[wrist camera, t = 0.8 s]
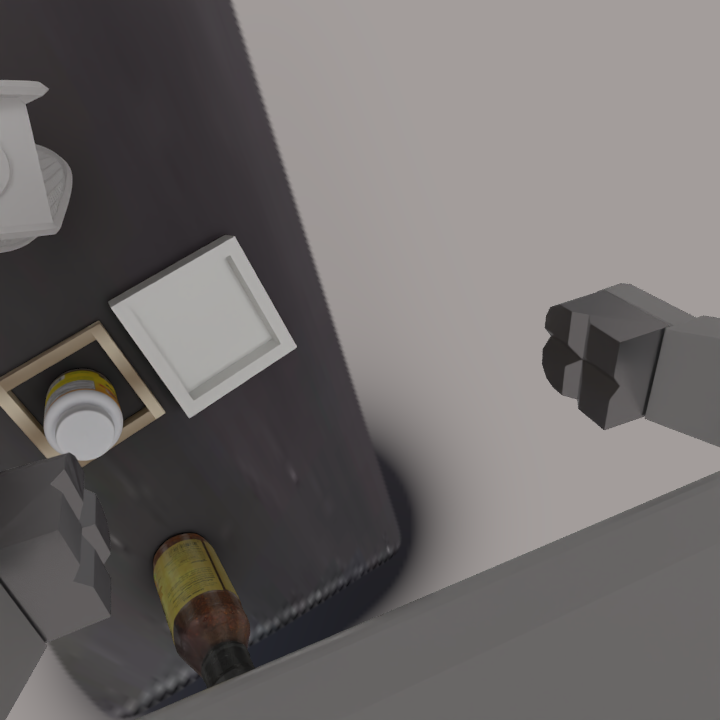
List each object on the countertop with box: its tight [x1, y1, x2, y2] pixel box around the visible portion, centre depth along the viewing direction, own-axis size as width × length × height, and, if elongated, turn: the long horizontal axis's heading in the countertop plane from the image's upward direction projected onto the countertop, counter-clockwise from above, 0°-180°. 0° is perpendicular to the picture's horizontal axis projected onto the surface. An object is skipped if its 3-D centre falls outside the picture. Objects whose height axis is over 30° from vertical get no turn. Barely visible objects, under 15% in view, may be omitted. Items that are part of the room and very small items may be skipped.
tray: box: [108, 235, 297, 418], centre depth 52 cm, size 12×12×4 cm
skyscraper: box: [0, 80, 72, 253], centre depth 32 cm, size 8×8×28 cm
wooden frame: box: [0, 320, 165, 467], centre depth 49 cm, size 10×10×2 cm
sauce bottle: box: [153, 533, 255, 689], centre depth 50 cm, size 6×6×20 cm
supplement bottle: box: [43, 369, 123, 461], centre depth 46 cm, size 6×6×10 cm
